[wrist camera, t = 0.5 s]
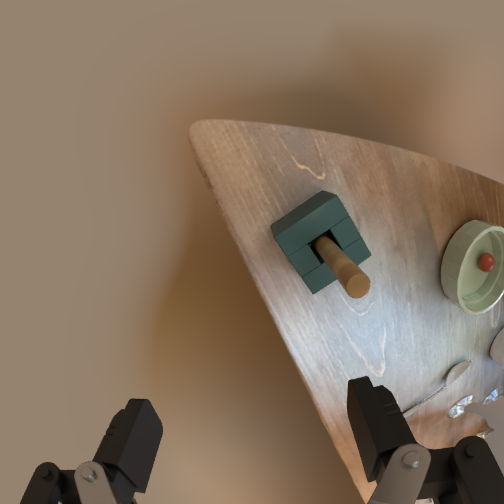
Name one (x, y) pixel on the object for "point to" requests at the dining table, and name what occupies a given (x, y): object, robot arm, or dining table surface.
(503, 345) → the mug
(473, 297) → the bowl
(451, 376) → the spoon
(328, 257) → the stick
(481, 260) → the ball
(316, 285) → the holder
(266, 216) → the dining table surface
